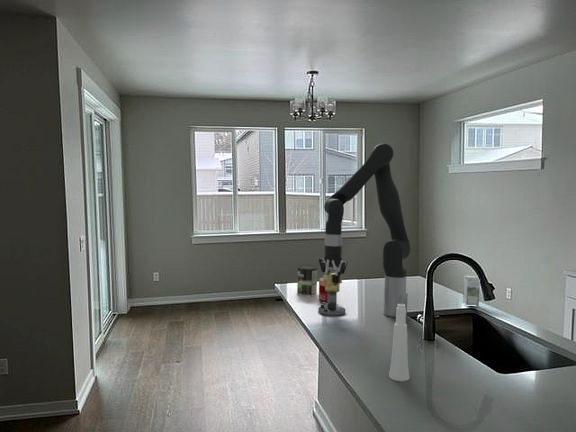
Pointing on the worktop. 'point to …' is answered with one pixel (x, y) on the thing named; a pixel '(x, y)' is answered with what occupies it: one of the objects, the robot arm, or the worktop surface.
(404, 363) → the cosmetic bottle
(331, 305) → the round metal flange
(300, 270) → the coffee can
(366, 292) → the worktop surface
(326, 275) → the door handle
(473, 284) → the syrup box
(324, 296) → the canned food
